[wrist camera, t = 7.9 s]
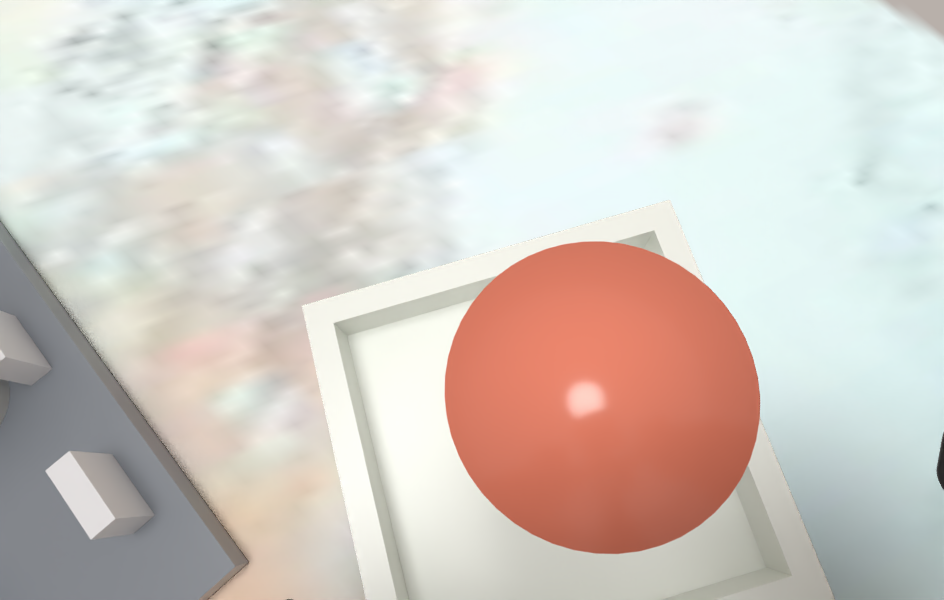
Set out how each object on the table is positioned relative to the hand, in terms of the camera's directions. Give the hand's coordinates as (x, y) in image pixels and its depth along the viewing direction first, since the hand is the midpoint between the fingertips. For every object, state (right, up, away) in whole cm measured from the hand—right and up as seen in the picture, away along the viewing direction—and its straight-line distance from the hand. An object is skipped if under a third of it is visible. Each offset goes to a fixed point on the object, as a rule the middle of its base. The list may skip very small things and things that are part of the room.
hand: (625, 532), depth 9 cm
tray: (0, -1, +11) cm, 12 cm away
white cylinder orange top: (0, -1, +11) cm, 11 cm away
